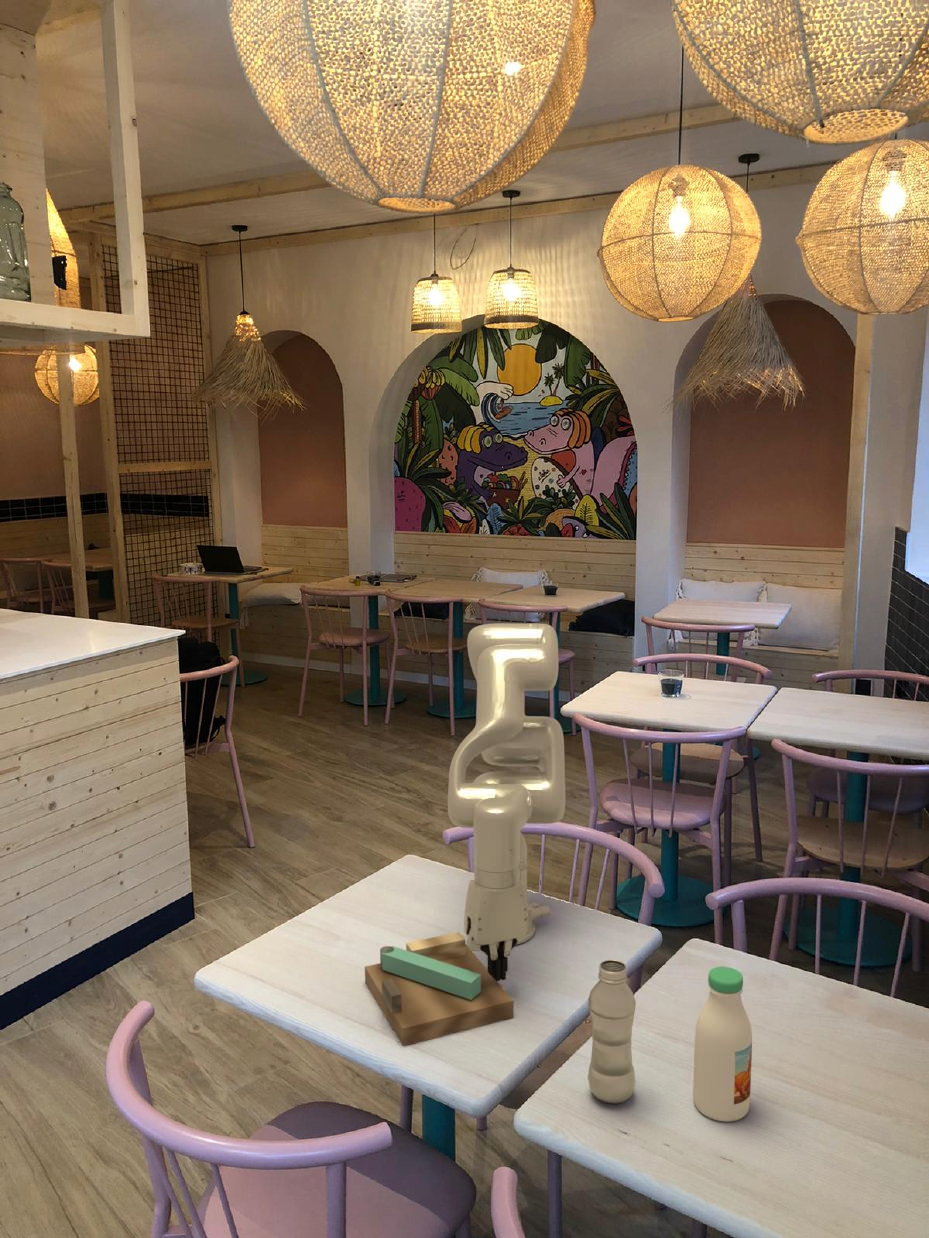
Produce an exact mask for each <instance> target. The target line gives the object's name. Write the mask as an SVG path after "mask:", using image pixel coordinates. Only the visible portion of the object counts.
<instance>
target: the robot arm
mask: <svg viewBox="0 0 929 1238" xmlns="http://www.w3.org/2000/svg"><path fill="white" fill-rule="evenodd" d="M466 641H467V643H466V645H467V654H468V659H469V663H470V668H471V670H472V673H473V675H474V678H475V680H476V710H475V711H476V713H475V716H476V717H475V726H474V727H473V729H472V730H471V731H470V732H469V734H467V736H465V738H464V739H463V740H462V742H461V743H459V744H458V745H459V746H458V747H457V748H456V750H455V752H454V754H453V757H452V760H451V762H450V766H449V773H448V788H447V789H448V790H447V791H448V792H447V812H448V817H449V819H450V822H451V823H452V824H453V825H454V826H456V827H459V828H464V829H466V828H467V829H473V879H471V880H469V881H468V882H469V883H468V887H467V891H466V897H465V906H464V907H465V908H464V920H463V921H464V922H463V927H464V928H463V929H464V933H465V935H466V936H468V937H467V941H466V945H467V948H468V949H469V950H470V951H472V952H482V953H484V954H485V955H486V957H487V970H488V973H489V974H490V975H491V976H492V977H493V978H494V979H495V980H496V981H497V982H498V983H499V982H500V981H505V980H506V979H507V972H508V971H509V969H508V967H509V966H508V964H509V963H508V959H509V957H510V955H512V950H513V949H514V947H515V946H516V945H519V944H523V943H525V942H527V941H529V940H530V939H532V937H534V935H535V933H536V924H535V922H534V921H536V920H537V918H544V917H549V916H550V915H551V909H550V905H542V906H539V903H538V902H532V903H530V904H528V846H527V845H528V844H527V841H526V838H525V836H524V835H523V834H522V832H521V830H522V829H523V827H524V826H526V824H529V825H530V824H533V825H534V824H536V825H537V824H540V825H547V824H548V825H549V824H556V823H558V822H560V821H561V820H562V819H563V817H564V815H565V809H566V773H565V772H566V771H565V770H566V769H565V767H566V766H565V764H566V763H565V738H564V731H563V728H562V726H561V724H560V722H559V721H558V720H557V719H555V718H554V717H551V716H543V715H542V716H538V715H537V716H535V715H533V716H531V715H529V716H528V715H526V713H525V692H527V691H528V692H529V691H530V692H531V691H533V692H535V691H537V692H540V691H541V692H542V691H543V692H545V691H551V690H552V689H553V688H554V687H555V686H556V683H557V680H558V676H559V641H558V635H557V632H556V630H555V629H554V627H553V626H551V625H550V624H547V623H510V622H509V623H508V622H507V623H506V622H505V623H502V622H501V623H485V624H480V625H477V626H475V627H473V628H472V629H471V630H470V631H469V633H468V635H467V640H466ZM480 754H481V757H482V759H483V760H484V762H486V763H487V764H489V765H493V766H499V767H505V766H506V767H536V768H538V769H539V770H540V771H516V770H515V771H507V770H502V771H500V770H499V771H498V770H497V771H489V772H484V773H482V774H479V775H478V776H477V777H476V778H475V779H474V780H473V782H469V783H468V782H465V779H466V778H465V777H466V773H467V772H466V771H467V768H468V766H470V763H471V761H473V760H474V759H475V758H476V757H477V756H479V755H480Z"/></svg>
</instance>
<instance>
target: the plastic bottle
mask: <svg viewBox="0 0 929 1238" xmlns="http://www.w3.org/2000/svg"><path fill="white" fill-rule="evenodd" d="M597 978H598V979H599V980H598V981H597V983H595V985H594V986H593V987H592V988H591V990H590V993H589V996H588V1008H589V1009H588V1010H589V1015H590V1021H591V1035H592V1036H591V1037H592V1045H591V1047H592V1048H591V1058H590V1064H589V1068H588V1074H587V1080H588V1085H589V1090H590V1091H591V1093H592V1094H593V1095H594V1097H595V1098H596V1099H598V1100H599V1101H601V1102H604V1103H607V1104H614V1105H616V1104H621V1103H624V1102H627V1100H628V1099H630V1098H631V1097H632V1096H633V1094H634V1091H635V1087H636V1074H635V1068H634V1065H633V1054H632V1035H633V1034H632V1033H633V1023H634V1019H635V1012H636V1005H637V1004H636V1002H637V1001H636V999H635V995H634V993H633V991H632V990H631V988H630V986H629V985H628V984H627V981H628V976H627V965H626V963H624V962H622V961H620V960H617V959H606V960H603V961H601V962H600V964H599V972H598V976H597Z"/></svg>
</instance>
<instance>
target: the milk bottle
mask: <svg viewBox="0 0 929 1238" xmlns="http://www.w3.org/2000/svg"><path fill="white" fill-rule="evenodd" d="M707 979H708V980H707V981H708V984H707V988H708V990H709V993H708V997H707V998H706V1000H705V1003H704V1005H703V1006H702V1008H701V1009H700V1011H699V1014H698V1017H697V1018H696V1019H697V1020H696V1025H695V1037H694V1051H693V1052H694V1056H693V1085H692V1090H693V1091H692V1099H693V1103H694V1105H695V1106H696V1109H697V1110H698V1111H699V1112H700V1113H701V1114H702V1115H704V1116H705V1117H707V1118H709V1119H712V1120H714V1121H717V1122H726V1123H727V1122H728V1123H729V1122H736V1121H739V1120H741V1119H743V1118H744V1117H745V1116H746V1115H747V1114H748V1112H749V1110H750V1105H751V1104H750V1102H751V1086H752V1084H751V1083H752V1080H751V1079H752V1059H753V1058H752V1055H753V1033H752V1026H751V1021H750V1018H749V1017H748V1014H747V1011H746V1010H745V1007H744V1004H743V1001H742V996H741V995H742V993H743V990H744V989H743V988H744V987H743V986H744V978H743V974H742V973H741V972H740V971H738V970H737V969H735V968H732V967H728V966H716V967H713V968H712V969H710V970H709V971H708V977H707Z"/></svg>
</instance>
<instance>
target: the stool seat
mask: <svg viewBox="0 0 929 1238" xmlns="http://www.w3.org/2000/svg"><path fill="white" fill-rule="evenodd" d="M405 945H406V949H405V950H406V951H410V952H413V953H416V954H419V955H422V956H425V957H428V958H431V959H434V960H437V961H441V962H444V963H447V964H450V965H453V966H456V967H459V968H462V969H465V970H469V971H472V972H475V973H478V974H481V992H480V993H478V994H477V995H476V996H475V997H474V998H473V999H472V1000H470V999H467V998H464V997H461V996H458V995H455V994H452V993H449V992H446V991H443V990H441V989H438V988H435V987H432V986H429V985H426V984H423V983H420V982H417V981H414V980H411V979H408V978H405V977H402V976H399V975H396V974H394V973H391V972H388V971H385V970H382V968H381V963H375V964H369V965H365V966H364V981H365V985H366V986H367V988H368V989H369V992H370V993H371V994H372V997H373V998H374V1000H375V1002H376V1004H377V1005H378V1006H379V1008H380V1010H381V1012H382V1013H383V1015H384V1016H385V1018H386V1020H387V1022H388V1024H389V1025H390V1027H391V1028H392V1030H393V1032H394V1033H395V1035H396V1037H397V1039H398V1040H399V1042H400V1043H401V1045H402V1047H406V1046H409V1045H412V1044H417V1043H420V1042H425V1041H429V1040H432V1039H435V1038H440V1037H444V1036H448V1035H452V1034H455V1033H459V1032H464V1031H468V1030H470V1029H471V1030H472V1029H474V1028H478V1027H483V1026H486V1025H490V1024H495V1023H498V1022H503V1021H506V1020H510V1019H514V1000H513V998H511V996H510V995H509V994H508V993H507V992H506V990H505V989H504V988H503V987H502V985H501V984H500V983H499V981H498V982H497V981H496V980H495V979H494V978H493V977H492V976H491V975H490V974H489V973H488V968H486V967H485V965H484V964H483V963H482V962H481V960H480V959H479V958H478V956H476V955H475V953H474V951H470V950H469V949H468V948H467V943H466V938H465V937H464V936H463V935H462V933H460V931H455V932H451V933H448V934H442V935H437V936H434V937H427V938H423V939H418V940H415V941H410V942H406V943H405Z"/></svg>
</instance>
